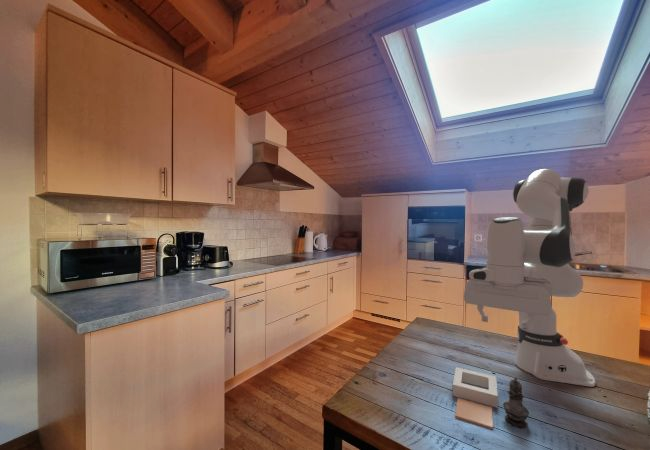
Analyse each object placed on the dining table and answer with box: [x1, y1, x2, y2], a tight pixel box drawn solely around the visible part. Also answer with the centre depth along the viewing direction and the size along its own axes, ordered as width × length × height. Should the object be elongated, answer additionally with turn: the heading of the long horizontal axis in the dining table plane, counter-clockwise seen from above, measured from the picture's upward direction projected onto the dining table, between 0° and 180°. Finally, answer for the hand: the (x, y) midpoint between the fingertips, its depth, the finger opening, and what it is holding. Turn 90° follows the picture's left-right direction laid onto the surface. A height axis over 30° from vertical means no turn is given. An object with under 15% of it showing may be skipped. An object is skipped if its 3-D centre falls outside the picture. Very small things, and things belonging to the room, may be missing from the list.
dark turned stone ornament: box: [502, 377, 530, 430], centre depth 74 cm, size 6×6×12 cm
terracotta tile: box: [454, 397, 494, 430], centre depth 78 cm, size 9×9×1 cm
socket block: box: [452, 366, 499, 409], centre depth 88 cm, size 12×12×4 cm
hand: (504, 325), depth 76 cm, fingers open, 8 cm apart
